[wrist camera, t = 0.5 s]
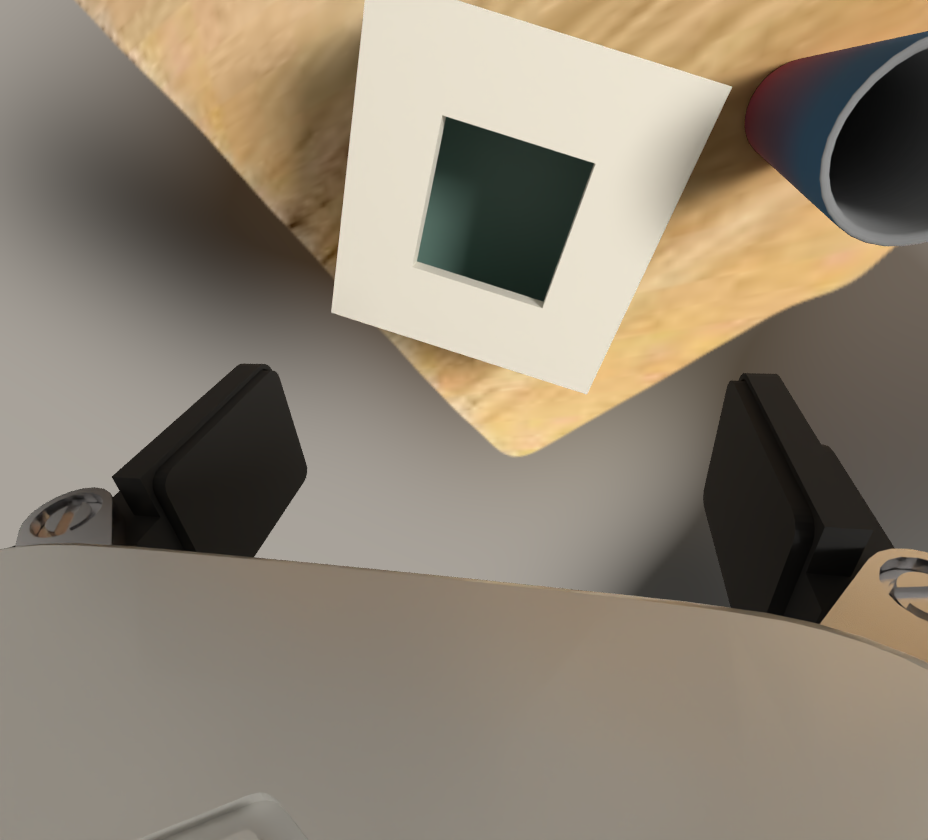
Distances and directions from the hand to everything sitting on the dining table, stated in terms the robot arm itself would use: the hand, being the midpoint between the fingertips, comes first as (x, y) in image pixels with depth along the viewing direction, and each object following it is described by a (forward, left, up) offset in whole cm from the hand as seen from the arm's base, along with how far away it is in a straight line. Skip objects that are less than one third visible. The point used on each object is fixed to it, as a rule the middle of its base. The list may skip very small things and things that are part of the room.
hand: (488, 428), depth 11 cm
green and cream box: (+1, -2, -29) cm, 29 cm away
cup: (-7, +12, -29) cm, 32 cm away
